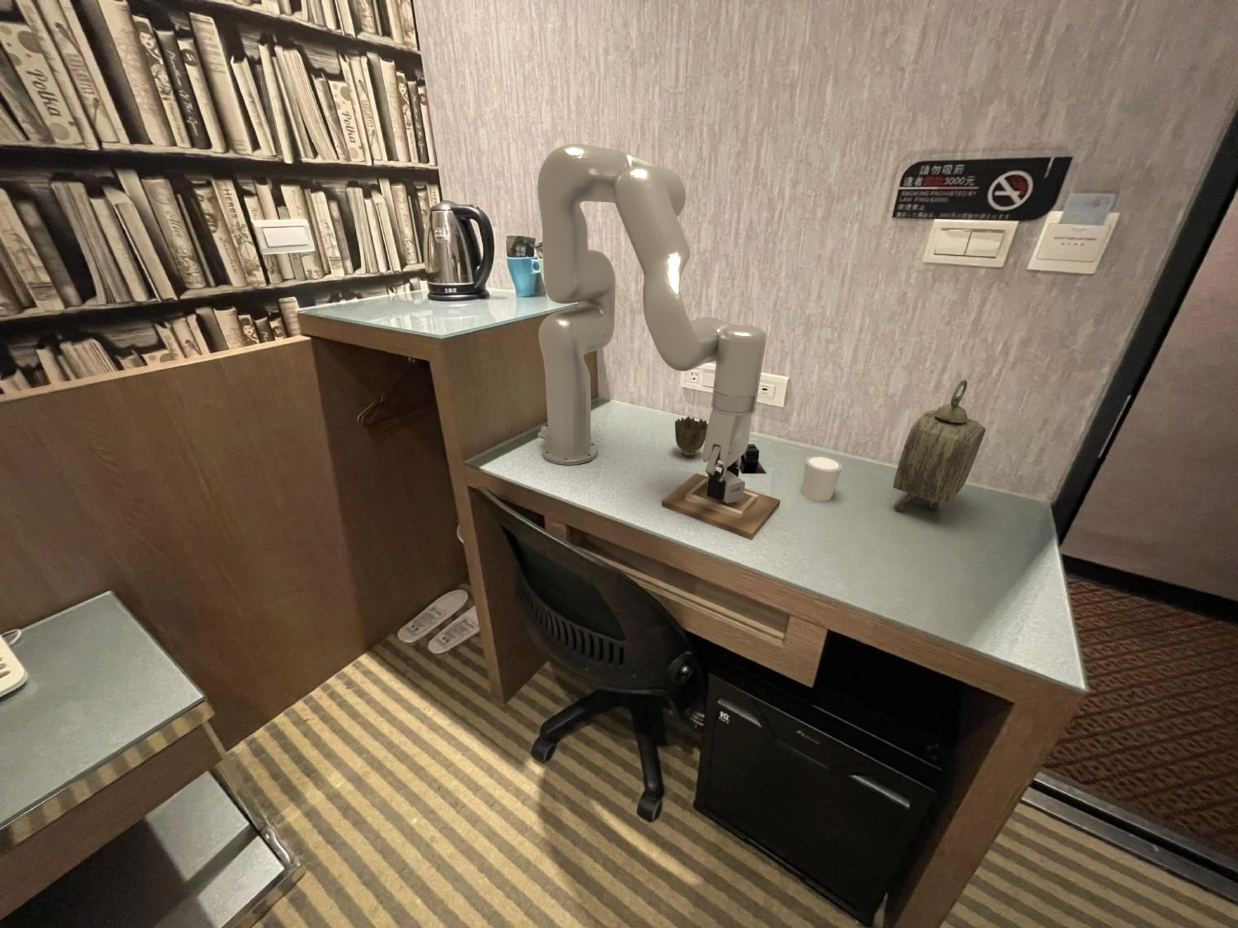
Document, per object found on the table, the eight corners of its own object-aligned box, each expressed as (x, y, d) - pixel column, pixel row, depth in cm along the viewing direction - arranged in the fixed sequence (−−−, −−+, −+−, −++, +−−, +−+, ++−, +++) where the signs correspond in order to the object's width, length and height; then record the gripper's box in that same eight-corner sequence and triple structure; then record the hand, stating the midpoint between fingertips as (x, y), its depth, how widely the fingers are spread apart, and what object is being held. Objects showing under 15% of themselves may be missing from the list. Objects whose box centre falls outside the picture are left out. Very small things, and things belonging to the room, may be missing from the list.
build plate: (772, 479, 108) (775, 460, 106) (738, 479, 107) (741, 460, 105) (754, 453, 119) (757, 435, 117) (724, 454, 118) (726, 436, 116)
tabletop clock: (910, 484, 106) (949, 368, 94) (959, 501, 100) (1006, 379, 89) (884, 510, 96) (923, 384, 85) (936, 529, 91) (985, 397, 79)
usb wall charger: (725, 503, 92) (727, 484, 90) (703, 486, 98) (705, 468, 96) (742, 499, 94) (745, 480, 92) (720, 482, 99) (722, 464, 98)
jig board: (661, 505, 96) (662, 495, 95) (695, 477, 106) (696, 467, 105) (751, 539, 87) (753, 527, 86) (779, 505, 97) (781, 494, 96)
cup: (710, 453, 117) (713, 421, 114) (696, 465, 112) (700, 431, 108) (681, 445, 121) (683, 414, 117) (666, 456, 115) (669, 424, 111)
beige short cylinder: (836, 490, 103) (843, 459, 100) (833, 506, 97) (841, 474, 94) (801, 482, 106) (807, 452, 102) (796, 497, 100) (803, 466, 97)
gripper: (734, 383, 95) (722, 469, 103) (691, 409, 83) (682, 504, 91) (772, 392, 91) (757, 479, 100) (734, 420, 79) (720, 517, 87)
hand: (721, 490), depth 95 cm, fingers closed on usb wall charger, 5 cm apart
